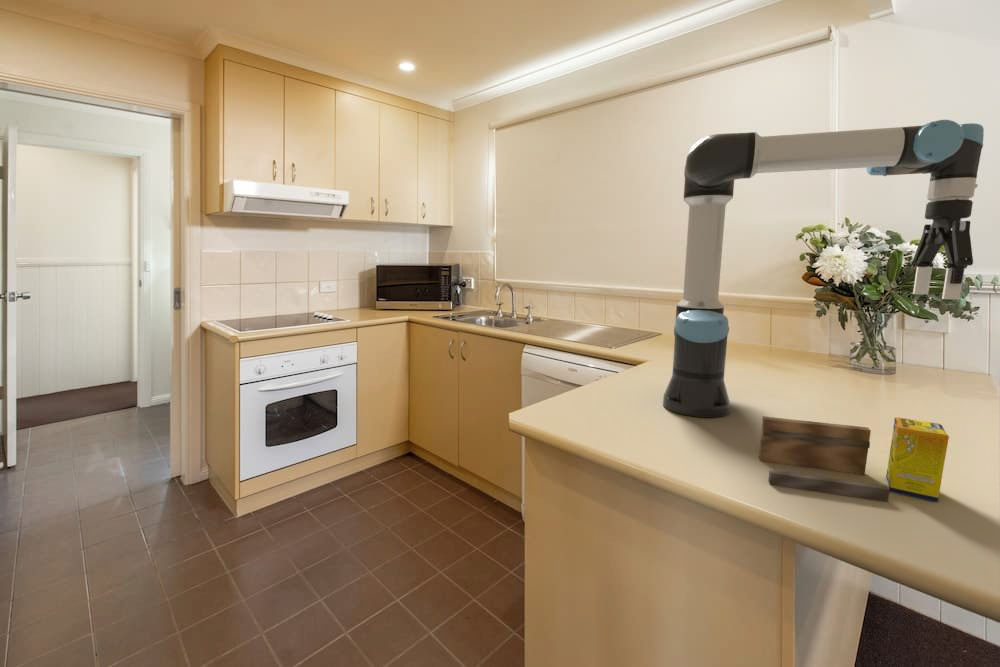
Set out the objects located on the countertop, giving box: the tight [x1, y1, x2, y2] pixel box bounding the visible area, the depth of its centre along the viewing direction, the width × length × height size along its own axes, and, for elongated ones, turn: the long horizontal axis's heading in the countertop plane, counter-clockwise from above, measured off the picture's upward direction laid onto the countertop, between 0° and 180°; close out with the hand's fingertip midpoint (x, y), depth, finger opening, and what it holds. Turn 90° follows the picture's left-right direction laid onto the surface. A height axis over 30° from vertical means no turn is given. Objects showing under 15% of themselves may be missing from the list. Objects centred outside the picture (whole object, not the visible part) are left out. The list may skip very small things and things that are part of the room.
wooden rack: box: [758, 416, 890, 503], centre depth 80 cm, size 16×11×8 cm
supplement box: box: [885, 416, 950, 503], centre depth 76 cm, size 6×6×11 cm
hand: (934, 296), depth 108 cm, fingers open, 13 cm apart
